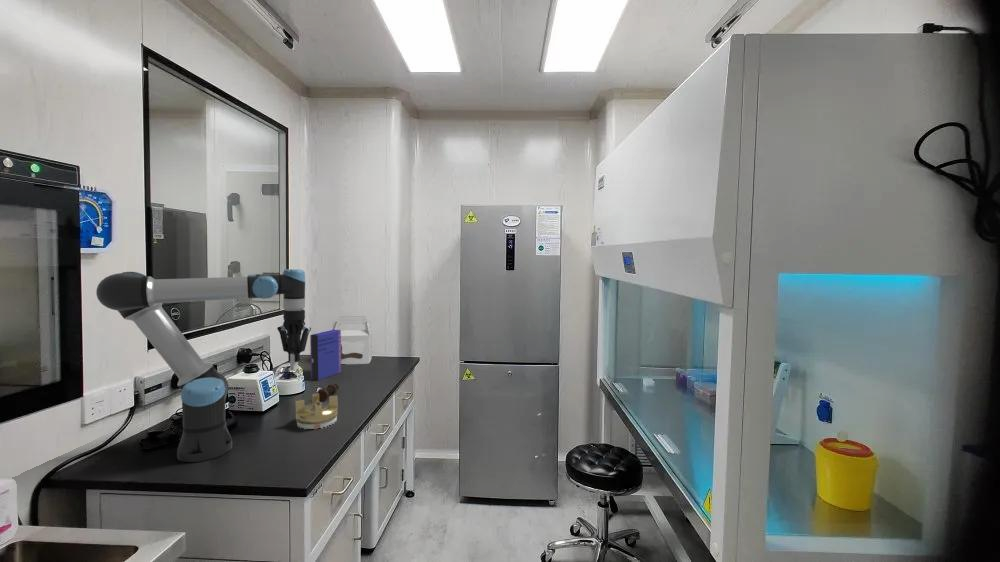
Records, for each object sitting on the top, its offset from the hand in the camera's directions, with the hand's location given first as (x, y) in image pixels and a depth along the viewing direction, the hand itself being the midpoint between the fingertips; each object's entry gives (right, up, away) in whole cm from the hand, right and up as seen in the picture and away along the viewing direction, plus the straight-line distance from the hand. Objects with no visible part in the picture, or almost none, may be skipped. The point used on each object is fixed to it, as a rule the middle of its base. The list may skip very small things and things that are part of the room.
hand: (294, 369), depth 167 cm
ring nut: (+8, -19, +2) cm, 20 cm away
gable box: (-11, -15, +97) cm, 99 cm away
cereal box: (-14, -17, +65) cm, 69 cm away
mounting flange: (+8, -21, +2) cm, 23 cm away
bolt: (0, -19, +34) cm, 39 cm away
